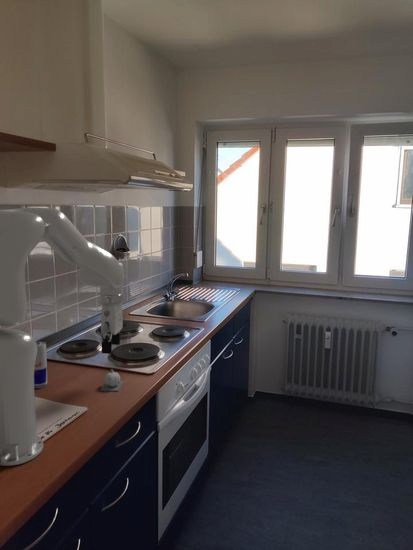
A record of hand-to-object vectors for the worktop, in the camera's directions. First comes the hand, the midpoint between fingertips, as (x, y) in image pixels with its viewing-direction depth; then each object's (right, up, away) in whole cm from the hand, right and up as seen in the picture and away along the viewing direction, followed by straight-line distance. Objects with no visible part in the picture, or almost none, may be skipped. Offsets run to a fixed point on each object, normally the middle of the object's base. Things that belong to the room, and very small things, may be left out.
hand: (111, 348), depth 144 cm
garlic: (0, -13, +3) cm, 14 cm away
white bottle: (-25, -13, +2) cm, 28 cm away
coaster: (0, -13, +3) cm, 14 cm away
